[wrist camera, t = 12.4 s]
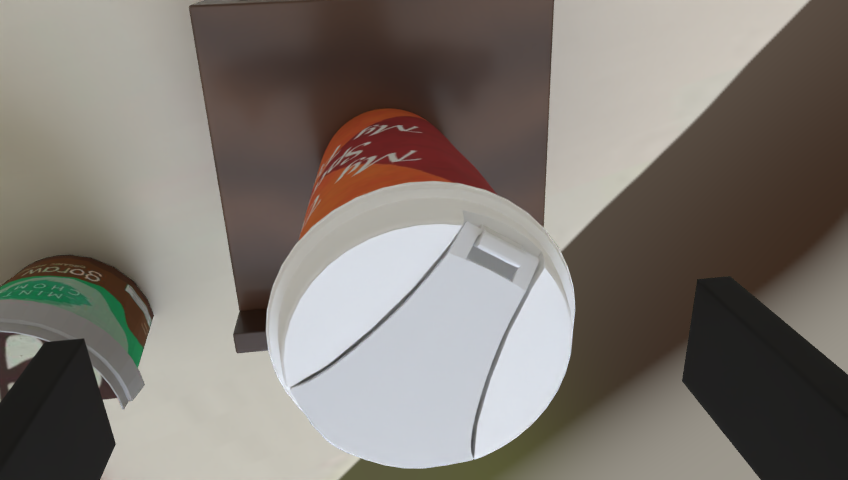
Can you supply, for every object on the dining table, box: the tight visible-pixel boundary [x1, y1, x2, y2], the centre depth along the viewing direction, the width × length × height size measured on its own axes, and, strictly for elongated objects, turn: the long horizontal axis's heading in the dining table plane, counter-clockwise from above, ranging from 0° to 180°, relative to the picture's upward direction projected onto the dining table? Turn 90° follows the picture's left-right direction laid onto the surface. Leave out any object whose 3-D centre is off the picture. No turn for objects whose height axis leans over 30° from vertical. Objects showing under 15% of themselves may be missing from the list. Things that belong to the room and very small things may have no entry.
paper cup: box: [266, 108, 575, 468], centre depth 21 cm, size 8×8×14 cm
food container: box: [0, 255, 154, 409], centre depth 37 cm, size 12×6×10 cm, turn 94°
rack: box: [189, 0, 554, 353], centre depth 33 cm, size 14×14×15 cm
